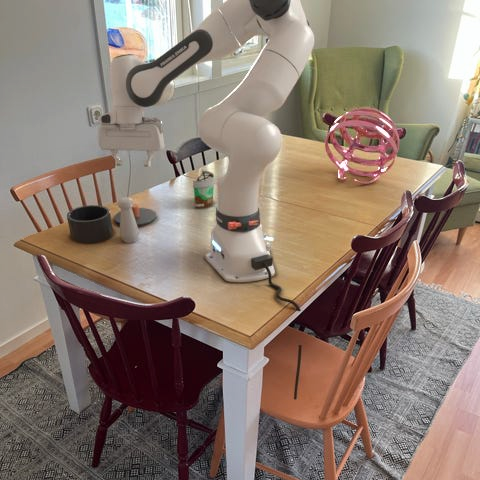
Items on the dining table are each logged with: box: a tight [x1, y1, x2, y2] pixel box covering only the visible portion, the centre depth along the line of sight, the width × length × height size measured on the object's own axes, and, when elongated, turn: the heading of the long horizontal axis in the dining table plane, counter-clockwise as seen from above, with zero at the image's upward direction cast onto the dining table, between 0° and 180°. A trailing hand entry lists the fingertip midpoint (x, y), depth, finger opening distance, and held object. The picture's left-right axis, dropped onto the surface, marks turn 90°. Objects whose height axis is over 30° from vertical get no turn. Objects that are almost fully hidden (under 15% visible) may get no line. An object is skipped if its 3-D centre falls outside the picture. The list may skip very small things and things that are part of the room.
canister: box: [66, 204, 114, 244], centre depth 147 cm, size 13×13×7 cm
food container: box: [192, 169, 217, 209], centre depth 166 cm, size 12×6×10 cm, turn 168°
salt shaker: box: [117, 197, 140, 244], centre depth 142 cm, size 6×6×13 cm
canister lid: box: [113, 203, 158, 227], centre depth 157 cm, size 14×14×5 cm
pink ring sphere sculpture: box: [324, 107, 401, 186], centre depth 184 cm, size 28×28×27 cm
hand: (133, 166), depth 147 cm, fingers open, 8 cm apart
